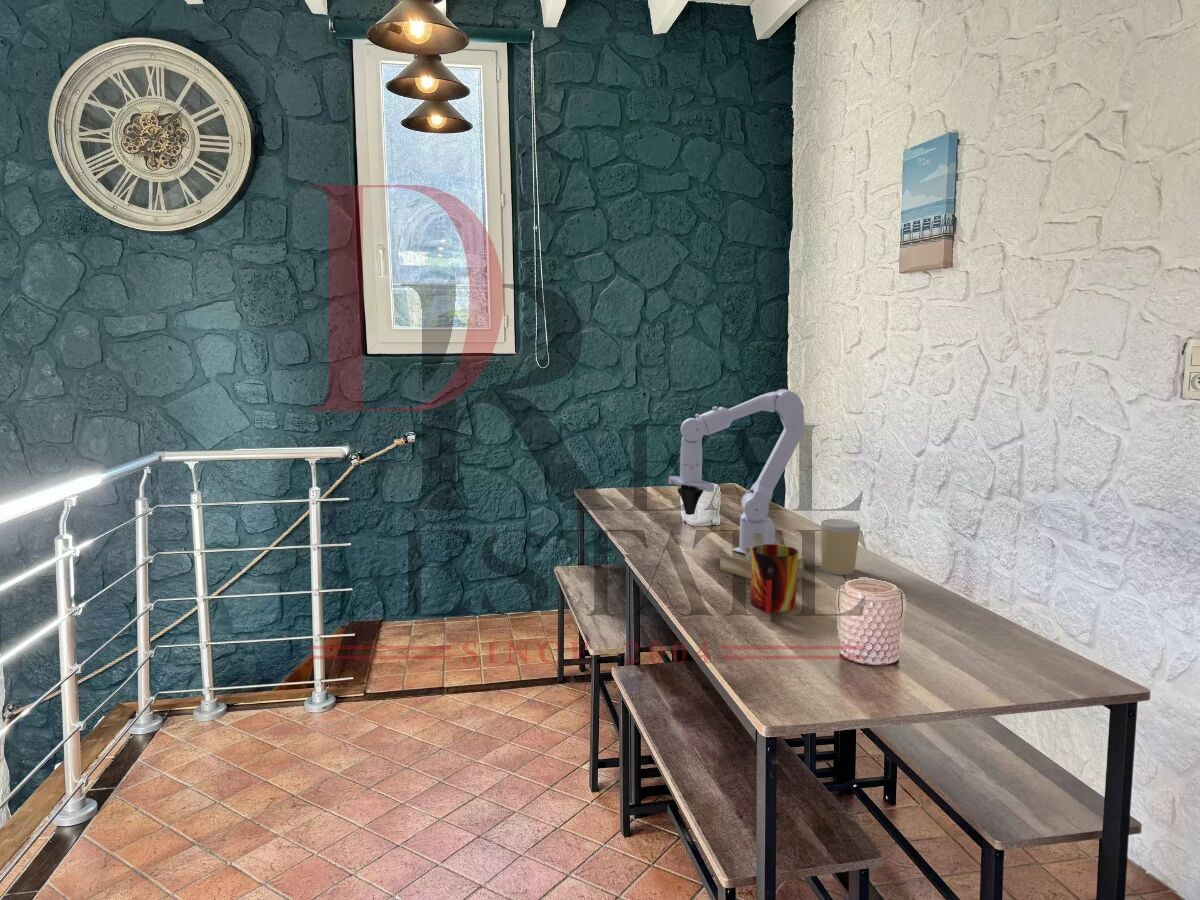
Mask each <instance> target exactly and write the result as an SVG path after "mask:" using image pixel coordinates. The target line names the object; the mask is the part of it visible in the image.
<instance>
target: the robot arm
mask: <svg viewBox="0 0 1200 900" xmlns="http://www.w3.org/2000/svg"><path fill="white" fill-rule="evenodd" d="M804 408H805V406H804V404H803V402H802V400H801V398H800V396H799V395H798V394H797V393H795V392H794V391H791V390H789V389H787V388H780V389H778V390H776V391H770V392H766V393H764V394H761V395H758V396H755V397H753V398H751V399H749V400H747V401H744V402H741V403H739V404H737V405H734V406H732V407H730V408H726V407H723V406H720V407H717V406H715V405H714V406H712V407H711V409H712V410H711V409H710V410H709V411H706V412H704V413H701V414H699V413H696V414H695V415H694V416H695V417H689V418H686V419H685V420H683V422H682V423H681V425H680V428H679V429H680V433H681V436H682V437H681V440H680V444H681V445H680V461H679V462H680V465H679V476H676V475H671V476H668V481H667V482H668V484H670V485H676V486H680V487H678V488H677V492H678V494H679V496H680V498H681V501H682V504H683V509H684V512H685V513H684V514H685V515H688V516H691V515H694V514H695V512H696V508H697V505H698V502H699V499H700V498H701V497H702V494H703V493H704V491H705V492H708V493H711V492H714V491H715V483H712V482H708V481H706V480H703V478H702V477H703V476H702V474H703V473H702V472H703V445H702V444H703V442H702V439H703V437H704V436H710V435H712V434H714V433H718V432H720V431H722V430H725V429H728V428H730V426H731V425H732V422H733V421H735V420H738V419H741V418H744V417H746V416H750V415H753V414H756V413H758V412H761V411H763V412H770V413H775V412H776V413H777V415H778V416H779V417H780V418H779V419H780V421H781V424H782V426H783V430H782V431H781V434H780V436H779V437H778V439H777V441H776V444H775V445H774V448H773V449H772V451H771V453H770V455H769V457H768V458H767V460H766V463H765V464H764V466H763V468H762V470H761V472H760V473H759V476H758V478H757V479H756V481H755V482H754V483H753V484H752V485H751V487H750V489H749V490H748V491H747V492H746V493H744V494H742V495H743V496H742V497H741V499H740V506H741V509H742V510H743V512H742V514H741V515H740V518H739V541H738V542H739V546H738V547H737V546H736V547H734V548H732V549H731V550H732V551H733V552H736V553H740V554H744V555H745V551H746V547H752V542H753V537H752V533H755V532H756V533H763V534H765V536H764V537H763V545H765V544H775V543H776V542H775V539H776V534H775V533H776V526H775V523H774V520H773V519H771V518H770V517H768V514H769V509H770V508H769V506H770V503H771V501H772V498H773V494H774V490H775V488H776V487H777V484H778V482H779V480H780V479H781V476H782V475H783V473H784V471H785V469H786V468H787V465H788V463H789V461H790V459H791V458H792V456H793V454H794V452H795V450H796V448H797V446H798V444H799V443H800V440H801V439H802V437H803V435H804V433H805V430H806V423H805V413H804V410H805V409H804ZM775 545H776V544H775Z"/></svg>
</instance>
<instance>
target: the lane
mask: <svg viewBox="0 0 1200 900" xmlns="http://www.w3.org/2000/svg"><path fill="white" fill-rule="evenodd" d="M750 550H751V547H746V551H745V554H744V558H745V559H744V558H741V557H736V556H732V555H729V554H726V553H720V554H719V555H720V556H719V557H720V559H719V570H720V571H723V572H727V573H729V574H733V575H737V576H739V577H742V578H746V579H750V580H751V567H752V562H751V561H748V560H747V558H748V556H749V553H750ZM804 569H805V557H804V556H798V562H797V581H798V580H800V579H803V578H804V572H805V571H804Z"/></svg>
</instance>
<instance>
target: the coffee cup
mask: <svg viewBox="0 0 1200 900" xmlns="http://www.w3.org/2000/svg"><path fill="white" fill-rule="evenodd" d="M820 531H821V532H820V534H821V535H820V538H821V539H820V540H821V541H820V543H821V544H820V545H821V550H820V551H821V570H822V571H823V572H825V573H827V574H832V575H837V576H838V575H839V576H848V575H852V574H854V572H855V568H856V561H857V554H858V553H857V552H858V548H859V547H858V545H859V540H860V539H859V537H860V531H861V526H860V523H859V522H856V521H854V520H851V519H844V518H827V519H824V520H822V521H821V523H820Z"/></svg>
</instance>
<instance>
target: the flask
mask: <svg viewBox="0 0 1200 900" xmlns="http://www.w3.org/2000/svg"><path fill="white" fill-rule="evenodd" d="M764 536H765V534H763V533H756V532H755V533H752V537H753V542H752V547H751V550H750V553H749V556H748V558H747V560H748V561H751V562H752V548H753V547H755V546H758V545H763V537H764Z"/></svg>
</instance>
